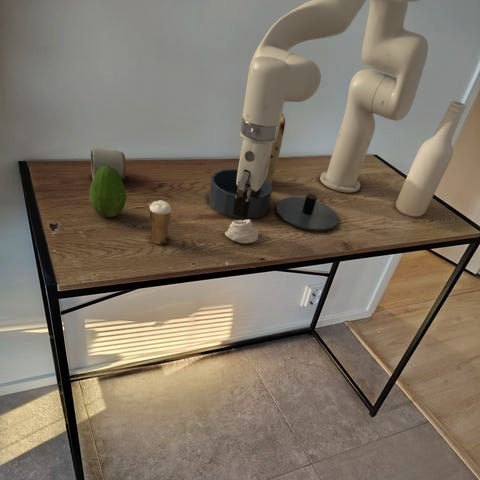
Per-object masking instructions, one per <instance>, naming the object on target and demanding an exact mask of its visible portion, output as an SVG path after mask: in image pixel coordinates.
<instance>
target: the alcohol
mask: <svg viewBox="0 0 480 480" xmlns="http://www.w3.org/2000/svg"><path fill="white" fill-rule="evenodd" d="M466 108H467V106H466V104H464V103H462V102H460V101H456V100H451V101H450V102H449V105H448V106H447V110H446V112H445V113H444V115H443V117H442V119H441V121H440V123H439V125H438V127H437V128H436V130H435V132H434V133H433V135H432V136H431V137H430V138H427V139H426V140H425V141H424V142H422V144H421V146H420V147H419V148H418V150H417V153H416V155H415V157H414V159H413V162H412V165H411V167H410V169H409V172H408V175H407V176H406V179H405V181H404V182H403V184H402V188H401V190H400V192H399V195H398V196H397V199H396V201H395V207H396V209H397V210H398V211H399V212H400V213H402V214H404V215H406V216H410V217H416V218H418V217H421V216H423V215H425V213H426V211H427V210H428V207H429V205H430V203H431V201H432V199H433V197H434V195H435V193H436V191H437V189H438V187H439V185H440V183H441V181H442V178H443V177H444V175H445V173H446V170H447V169H448V166H449V165H450V163H451V160H452V158H453V154H454V148H453V147H454V146H453V143H452V141H453V137H454V135H455V133H456V130H457V128H458V125H459V123H460V120H461V119H462V115H463V114H464V112H465V109H466Z"/></svg>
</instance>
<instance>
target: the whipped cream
mask: <svg viewBox="0 0 480 480" xmlns="http://www.w3.org/2000/svg"><path fill="white" fill-rule="evenodd" d="M224 235H225V237H227V238H229V239H230V240H231V241H233V242H236V243H239V244H252V243H254V242H256V241H257V240H258V238H259V230H258V228H257V227H254V226H253V222H252V219H238V220H237V219H235V220H232V221H231V223H230V224H229V227H228V228H227V230H226V231H225V232H224Z"/></svg>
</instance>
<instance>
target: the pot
mask: <svg viewBox="0 0 480 480" xmlns="http://www.w3.org/2000/svg"><path fill="white" fill-rule="evenodd" d="M237 173H238V168H228V169H226V168H225V169H220V170H217V171H215V172H214V173H213V174H212V175H211V177H210V182H209V183H210V184H209V192H208V202H209V205H210V206H211V208H213V209H214V210H215V211H216V212H218V213H220V214H222V215H224V216H227V217H230V218H233V219H239V220H253V219H257V218H260V217H262V216H265V215H266V213H267V212H268V210H269V207H270V203H271V199H272V194H273V185H272V182H271V183H270V182H269V181H268V180H267V179H266V180H265V181H264V183H263V184H262V186H261V189H260V194H259V198H258V199H256V198H252V197H250V198H249V201H250V205H249V211H248V216H247V218H243V217H240V216H236V215H234V214H233V209H234V203H235V197H236V193H237V190H238V186H237V184H236V181H237ZM245 192H246V189H245Z"/></svg>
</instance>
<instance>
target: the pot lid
mask: <svg viewBox="0 0 480 480" xmlns="http://www.w3.org/2000/svg"><path fill="white" fill-rule="evenodd" d="M317 199H318V197H317V195H315V194H313V193H307V194H306V196H305V197H304V196H303V197H302V196H290V197H289V196H288V197H284V198H281V199H280V200H279V201H278V202H277V203H276V206H275V210H276V211H275V212H276V213H277V215H278V217H279V218H281V219H282V220H283V221H285V222H286V223H288V224H290V225H292V226H294V227H296V228H300V229H303V230H307V231H312V232H313V231H315V232H324V231H328V230H331V229H333V228H335V227H336V226H337V224H338V222H339V217H338V215H337V213H336V212H335V211H334V210H333V209H332V208H331V207H329V206H328V205H327V204H324V203H323V202H320V201H319V200H317Z"/></svg>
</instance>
